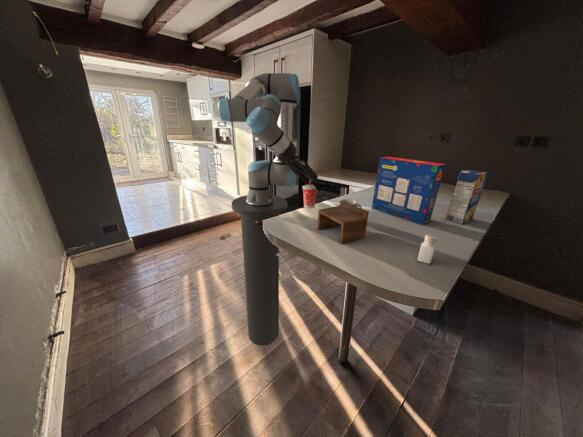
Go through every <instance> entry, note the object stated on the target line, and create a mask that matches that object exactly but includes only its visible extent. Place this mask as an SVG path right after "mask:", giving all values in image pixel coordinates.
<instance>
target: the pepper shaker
mask: <svg viewBox="0 0 583 437" xmlns="http://www.w3.org/2000/svg"><path fill="white" fill-rule="evenodd" d="M436 240H437V236H435V235H434V234H430V233H426V234H425V236H424V239H423V241H422V242H421V244H420V247H419V248H420V249H419V251H418V255H417V262H421V263H423V264H424V263H425V264H428V265H430V264H431V263H432V260H433V256H434V253H435V249H436V245H435V243H436Z"/></svg>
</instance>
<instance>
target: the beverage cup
mask: <svg viewBox="0 0 583 437" xmlns="http://www.w3.org/2000/svg"><path fill="white" fill-rule="evenodd" d="M302 193H303V195H302V198H303V208H305V209H308V210H310V209H315V208H316V199H317V189H316V188H315V187H314V185H310V180H309V185H307V184H304V185H302Z"/></svg>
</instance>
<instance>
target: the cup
mask: <svg viewBox="0 0 583 437" xmlns="http://www.w3.org/2000/svg"><path fill="white" fill-rule="evenodd" d="M340 201H344V202H347V203H349V204H352V205H354V206H357V207H359V208H361V209H363V207H362V205H361V204H359V203H358V202H357V201H356V200H354V199H351V198H350V199H349V198H344V199H341V200H340Z"/></svg>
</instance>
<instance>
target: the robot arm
mask: <svg viewBox="0 0 583 437" xmlns="http://www.w3.org/2000/svg"><path fill="white" fill-rule="evenodd" d="M300 100H301V92H300V83H299V77H298V75H297V74H296V73H290V72H278V73H277V72H274V73H272V72H271V73H270V72H266V73H261V74H258V75H255V76H253V77H252V78H251V79H249V80H248V81H246V84H245V86H244V88H242V89H241V90H240V91H239V92H237V93H236V94H235V95H234V96H233V97H232V98H221V99H220V100H219V101H218V102H217V112H218V116H219V118H220V120H221V121H223V122H229V123H246V125H247V126H248V128H249V129H250V130H251V131H252V132H253V133H254V134H255V135H256V136H257V138H259V139H260V140H261V142H262V143H263V144H264V145H265V146H266V147H267V148H268V149H269V151H268V152H270V153H273V155H275V158H274V159H273V160H272V163H270V161H269V160H256V161H253V162H250V163H248V165H247V177H248V178H247V179H248V192H247V194H246V195H247V198H246V203H247V204H248V205H251V206H267V205H270V204H272V203H273V198H272V195H273V194H272V192H271V189H270V187H271V186H277V187H293V186H294V185H295V182H296V178H297V176H298V177H299V178H300V179H301V180H302V181H303V182H304V184H305V185H309V180H310V185H314V187H315V188H316V191H317V192H319V193H320V192H321V191H322V190H323V189H324V188H325V186H324V185H323V184H322V183H321V182H320V180H319V179H318V178H319V175H318V174H317V173H316V172H315V171H314V170H313V169H312V168H311V166H310V164H308V162H307V161H306V159H304V158H303V159H301V157H300V156H299V155H297V150H298V148H297V147H296V146H295V144H294V143H293V139H294V138H293V136H294V109H295V108H296V107H297V105H298V102H300Z"/></svg>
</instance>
